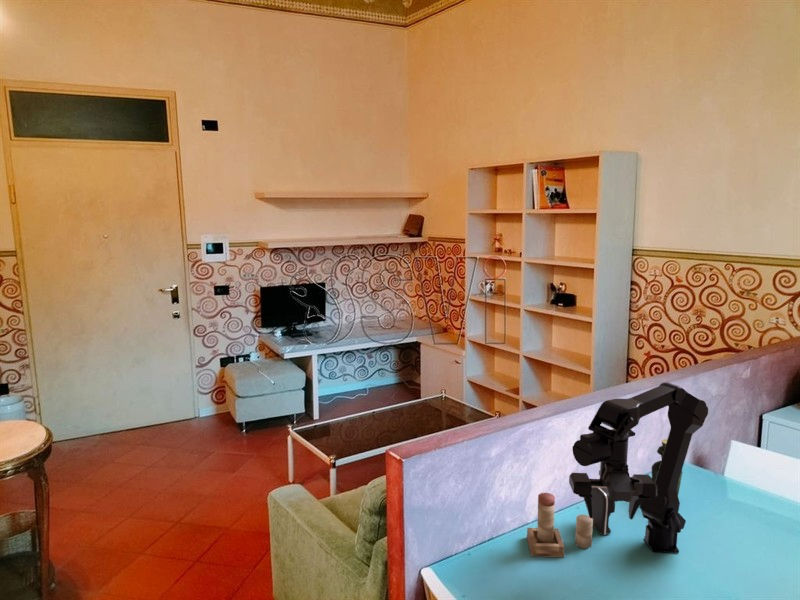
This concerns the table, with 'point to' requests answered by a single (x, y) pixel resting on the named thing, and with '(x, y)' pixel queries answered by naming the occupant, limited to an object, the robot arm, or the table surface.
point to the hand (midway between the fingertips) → (610, 517)
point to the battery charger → (601, 509)
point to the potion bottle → (657, 464)
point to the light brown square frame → (545, 545)
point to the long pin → (545, 518)
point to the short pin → (584, 531)
